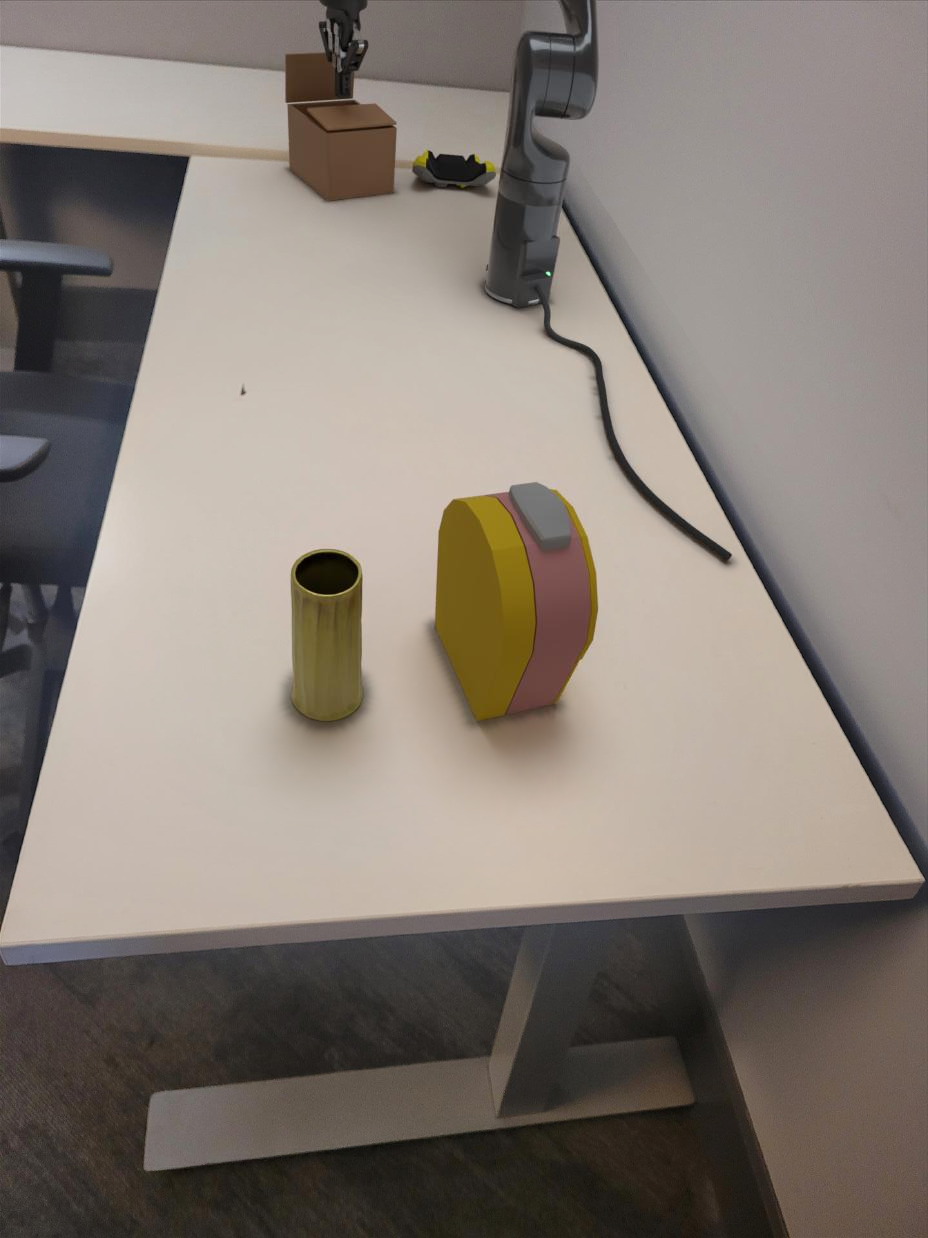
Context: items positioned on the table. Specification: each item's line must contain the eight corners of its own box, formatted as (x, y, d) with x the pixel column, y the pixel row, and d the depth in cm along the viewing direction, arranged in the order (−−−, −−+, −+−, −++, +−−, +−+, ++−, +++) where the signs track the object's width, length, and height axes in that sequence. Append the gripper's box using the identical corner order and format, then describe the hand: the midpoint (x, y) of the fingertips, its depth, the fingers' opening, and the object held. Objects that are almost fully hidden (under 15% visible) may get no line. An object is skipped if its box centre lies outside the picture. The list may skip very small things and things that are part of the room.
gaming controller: (494, 198, 155) (487, 177, 161) (498, 165, 151) (491, 145, 157) (412, 191, 152) (408, 171, 159) (414, 158, 148) (410, 138, 155)
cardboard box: (393, 192, 151) (399, 77, 138) (327, 200, 145) (327, 81, 132) (351, 160, 159) (353, 49, 147) (287, 167, 154) (283, 52, 141)
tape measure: (572, 717, 74) (624, 561, 60) (483, 737, 71) (518, 579, 58) (508, 598, 83) (542, 440, 70) (428, 612, 80) (448, 451, 67)
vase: (362, 665, 75) (366, 544, 65) (365, 721, 71) (370, 601, 61) (291, 667, 74) (285, 543, 64) (290, 723, 70) (283, 601, 60)
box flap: (396, 124, 143) (396, 122, 143) (327, 130, 137) (327, 127, 137) (375, 105, 147) (375, 102, 146) (307, 110, 141) (307, 107, 140)
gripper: (386, -22, 128) (381, 108, 140) (344, -42, 135) (343, 83, 147) (342, -22, 124) (341, 110, 137) (301, -42, 131) (304, 85, 144)
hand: (342, 96), depth 142 cm, fingers closed
